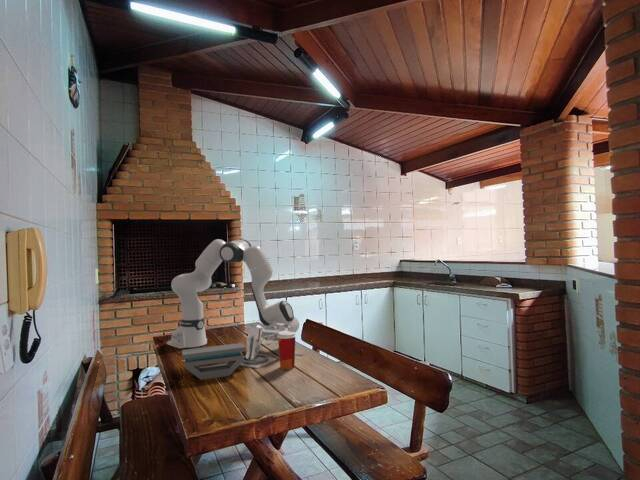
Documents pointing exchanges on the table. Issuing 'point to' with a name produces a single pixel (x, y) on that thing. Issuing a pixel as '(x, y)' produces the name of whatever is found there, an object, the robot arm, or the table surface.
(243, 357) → the steel ring collar
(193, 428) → the table surface
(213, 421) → the table surface
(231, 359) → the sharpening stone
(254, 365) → the pale board
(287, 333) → the coffee cup
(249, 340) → the steel tumbler
